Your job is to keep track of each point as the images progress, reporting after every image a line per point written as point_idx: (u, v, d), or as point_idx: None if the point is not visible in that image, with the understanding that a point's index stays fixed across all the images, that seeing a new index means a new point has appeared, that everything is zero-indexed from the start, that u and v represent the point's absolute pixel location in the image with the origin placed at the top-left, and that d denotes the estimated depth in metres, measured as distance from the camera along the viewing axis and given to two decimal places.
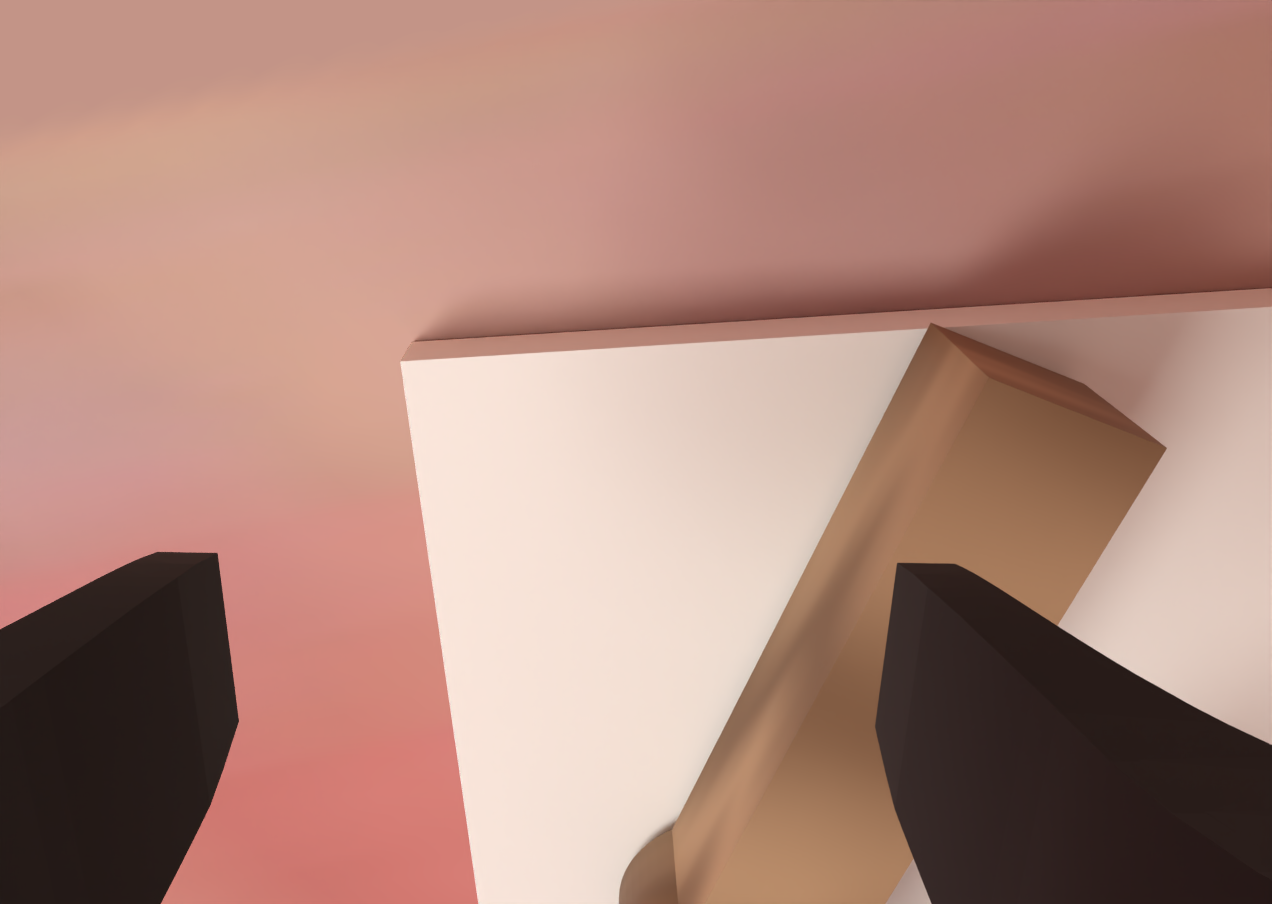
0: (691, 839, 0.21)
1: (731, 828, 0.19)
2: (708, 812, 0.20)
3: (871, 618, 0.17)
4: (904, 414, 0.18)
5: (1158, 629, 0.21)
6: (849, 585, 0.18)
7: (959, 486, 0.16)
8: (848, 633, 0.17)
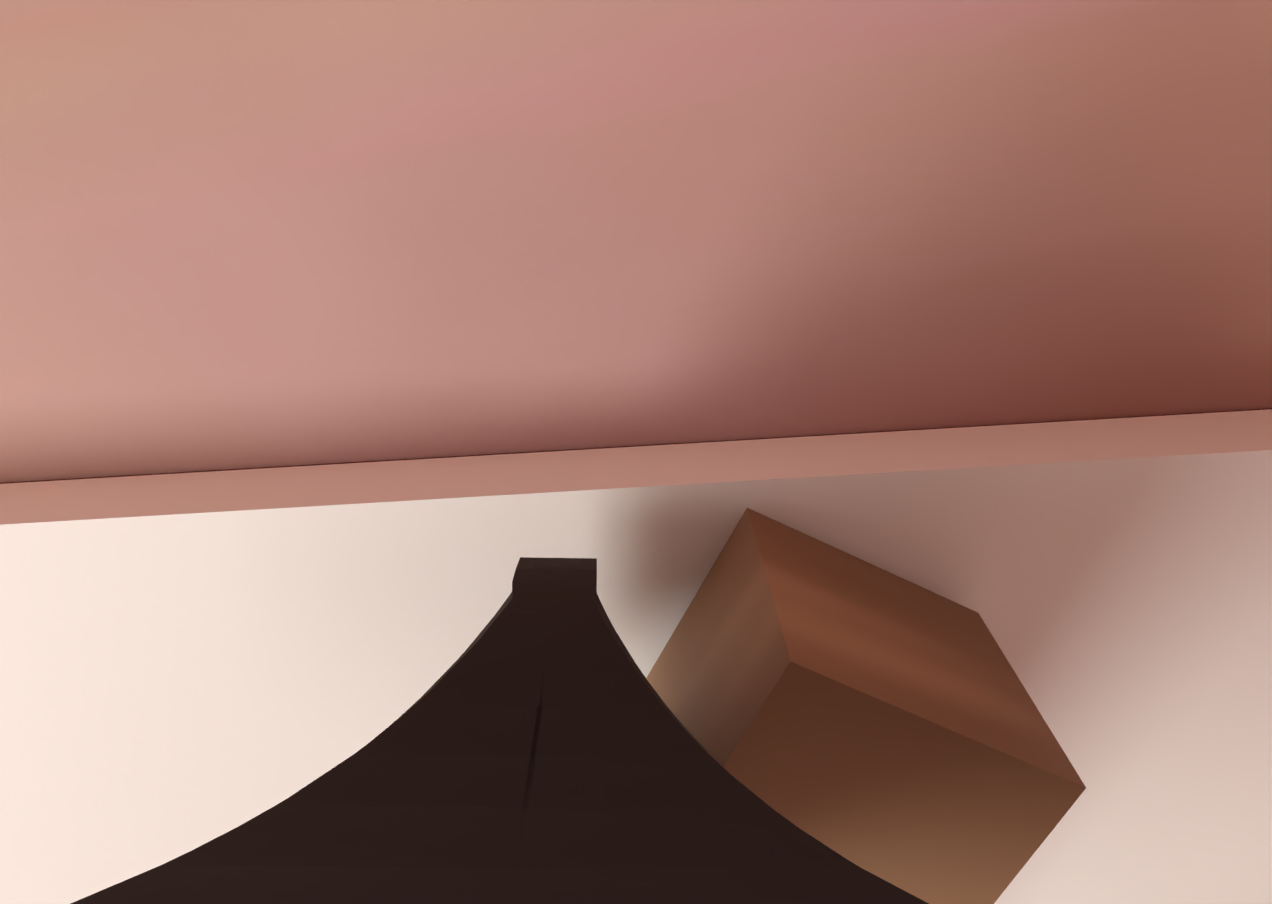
0: None
1: None
2: None
3: None
4: (691, 652, 0.11)
5: (1039, 901, 0.14)
6: None
7: None
8: None
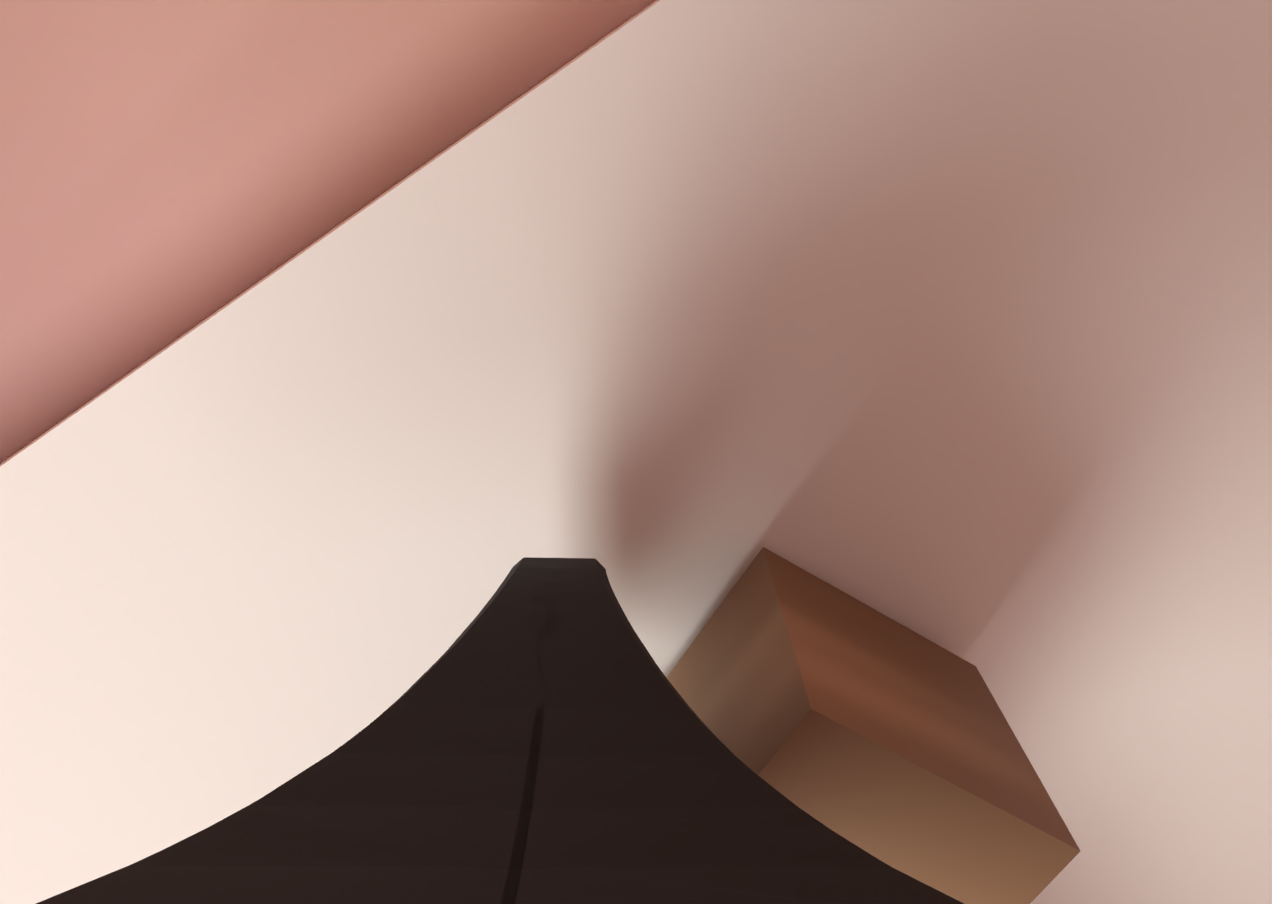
0: None
1: None
2: None
3: None
4: (697, 684, 0.12)
5: None
6: None
7: None
8: None
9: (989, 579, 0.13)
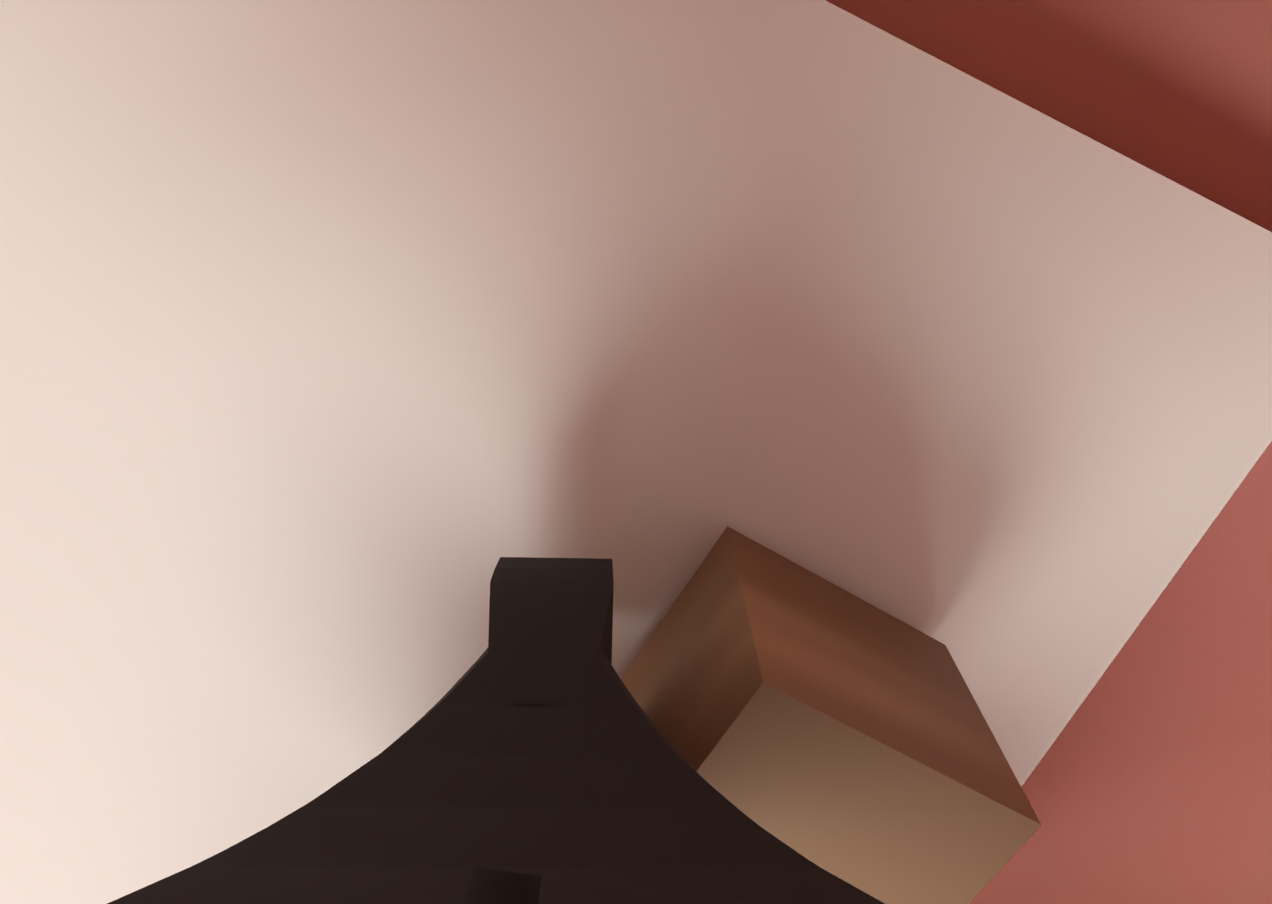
0: None
1: None
2: None
3: None
4: (661, 666, 0.12)
5: (138, 622, 0.13)
6: None
7: None
8: None
9: (331, 349, 0.11)
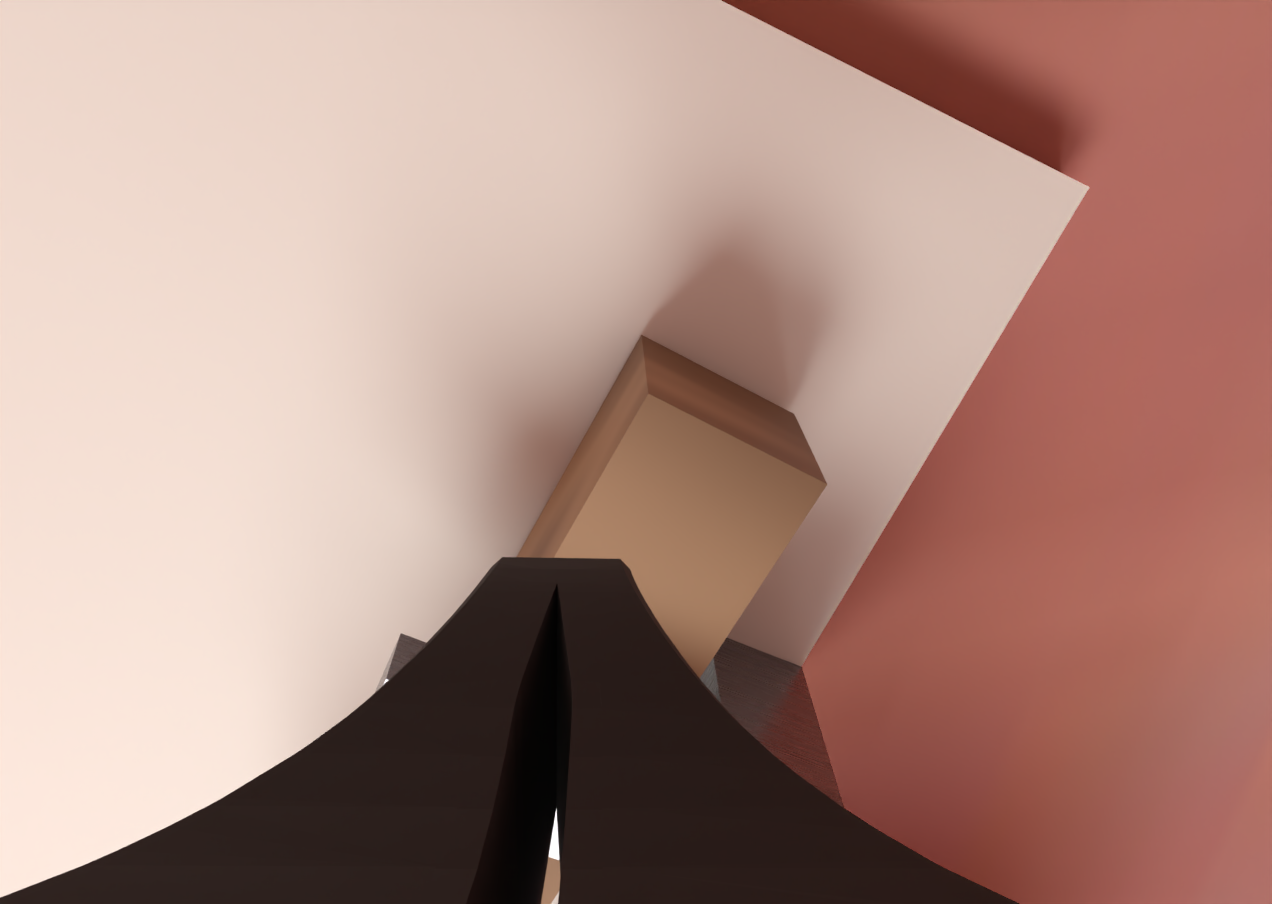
0: None
1: None
2: None
3: None
4: (600, 423, 0.18)
5: (280, 417, 0.19)
6: None
7: (617, 500, 0.16)
8: None
9: (413, 228, 0.18)
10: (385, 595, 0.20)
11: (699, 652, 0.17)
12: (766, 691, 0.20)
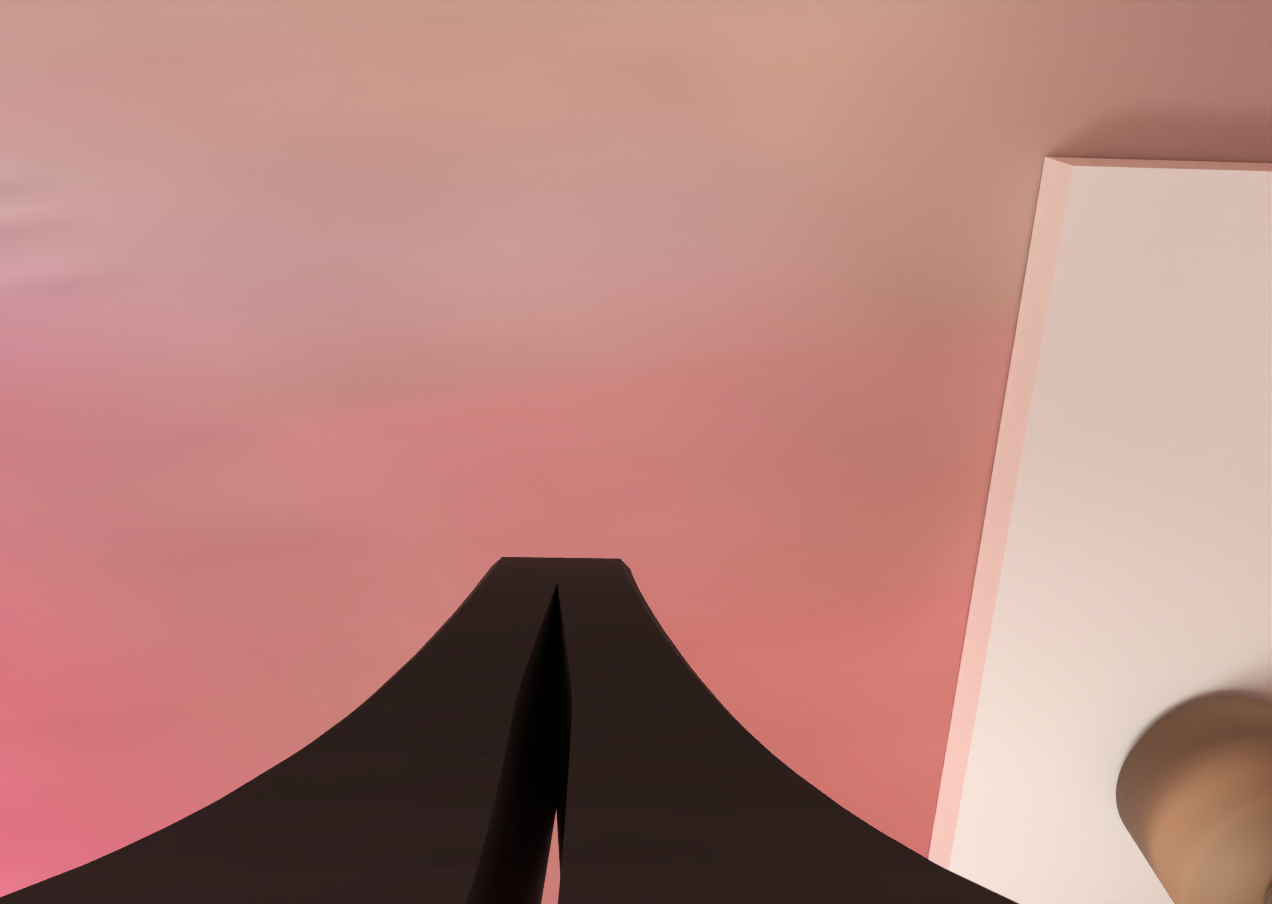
0: None
1: None
2: None
3: None
4: None
5: None
6: None
7: None
8: None
9: None
10: None
11: None
12: None
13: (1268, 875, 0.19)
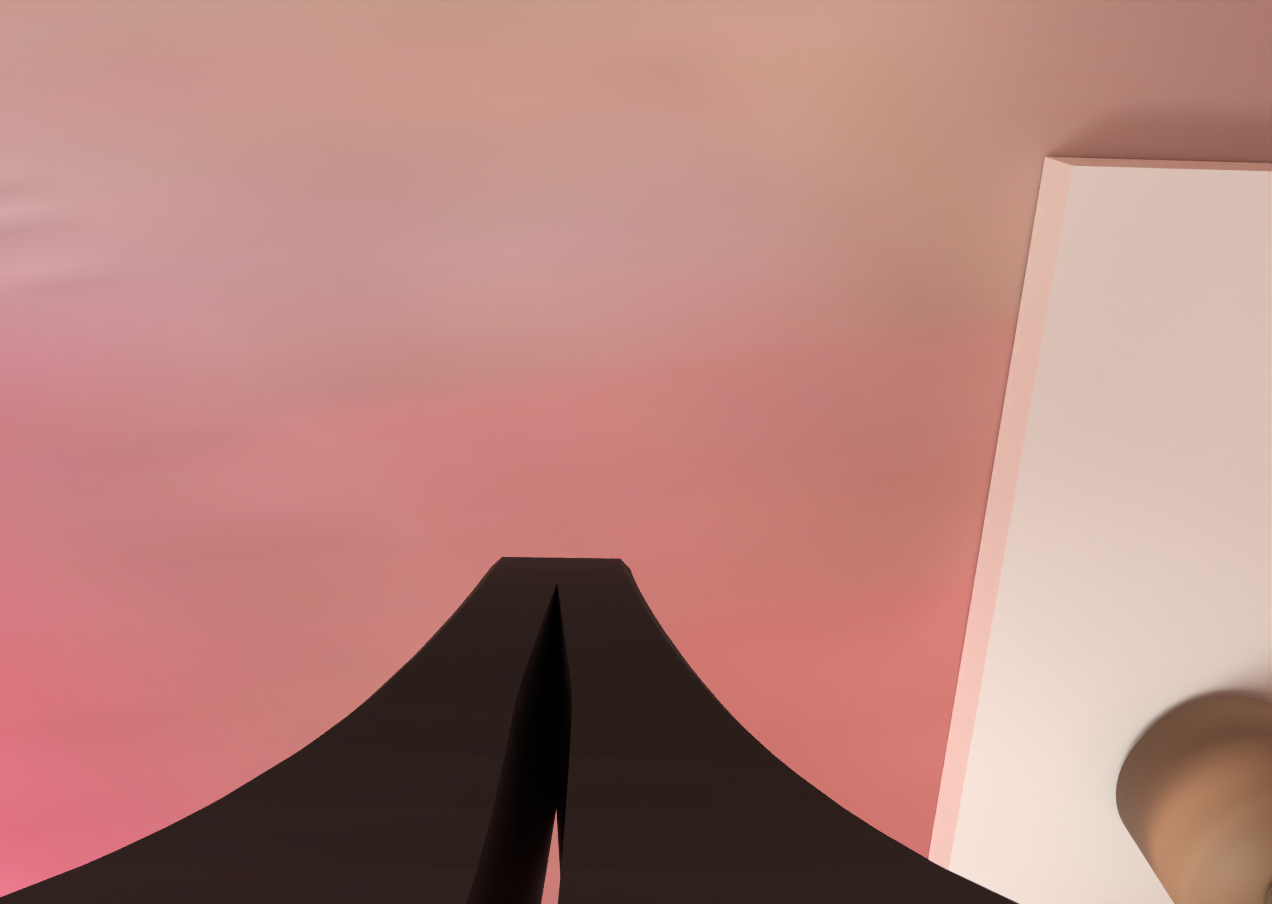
0: None
1: None
2: None
3: None
4: None
5: None
6: None
7: None
8: None
9: None
10: None
11: None
12: None
13: (1268, 875, 0.19)
